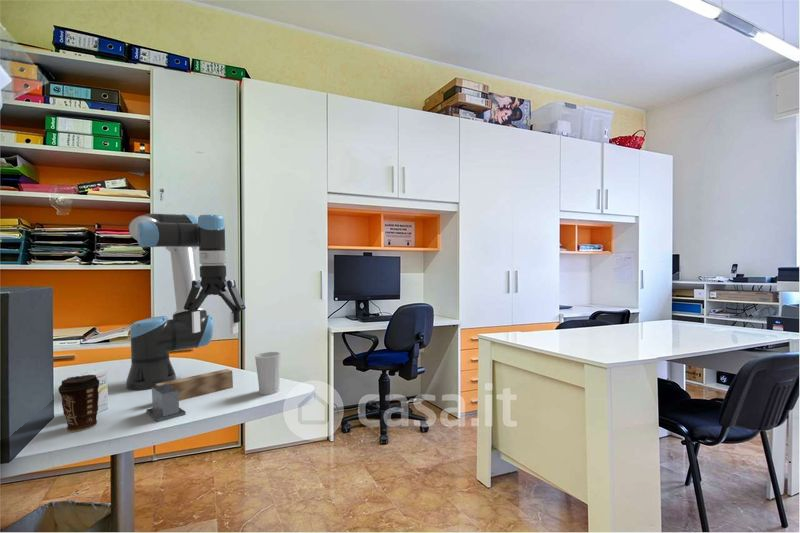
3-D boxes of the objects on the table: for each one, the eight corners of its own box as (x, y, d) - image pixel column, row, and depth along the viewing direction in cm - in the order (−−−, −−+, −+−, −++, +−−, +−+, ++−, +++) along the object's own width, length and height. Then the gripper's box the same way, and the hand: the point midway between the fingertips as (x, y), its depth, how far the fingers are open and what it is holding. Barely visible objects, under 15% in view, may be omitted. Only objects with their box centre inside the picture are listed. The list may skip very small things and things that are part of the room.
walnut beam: (160, 406, 123) (159, 386, 123) (156, 403, 126) (155, 383, 126) (233, 388, 139) (232, 370, 139) (228, 386, 142) (227, 368, 142)
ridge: (146, 412, 118) (145, 388, 118) (173, 405, 123) (172, 382, 123) (157, 422, 110) (156, 396, 110) (185, 414, 115) (184, 389, 115)
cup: (251, 392, 133) (250, 355, 133) (274, 386, 139) (272, 350, 139) (264, 397, 128) (262, 358, 128) (286, 390, 134) (285, 353, 133)
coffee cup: (77, 421, 112) (74, 374, 112) (109, 419, 113) (106, 372, 113) (52, 435, 104) (50, 383, 104) (87, 432, 104) (85, 381, 104)
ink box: (95, 408, 123) (93, 368, 123) (109, 408, 122) (107, 369, 122) (66, 419, 115) (64, 377, 114) (82, 420, 114) (80, 377, 113)
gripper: (169, 265, 127) (172, 334, 127) (241, 264, 121) (243, 336, 122) (187, 264, 134) (189, 329, 135) (255, 263, 128) (257, 331, 129)
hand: (215, 332), depth 128 cm, fingers open, 13 cm apart
